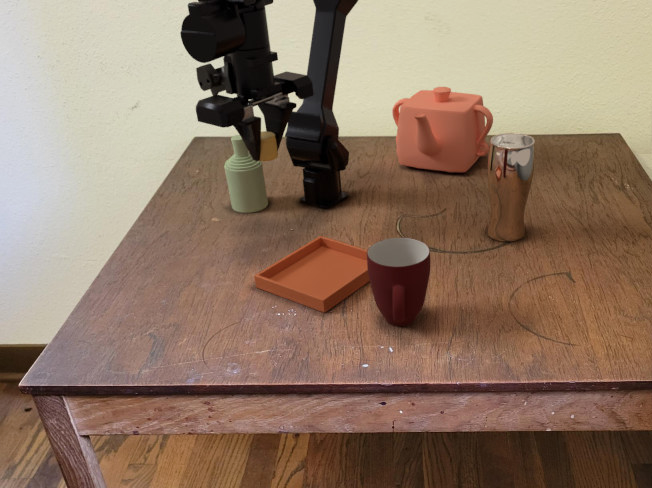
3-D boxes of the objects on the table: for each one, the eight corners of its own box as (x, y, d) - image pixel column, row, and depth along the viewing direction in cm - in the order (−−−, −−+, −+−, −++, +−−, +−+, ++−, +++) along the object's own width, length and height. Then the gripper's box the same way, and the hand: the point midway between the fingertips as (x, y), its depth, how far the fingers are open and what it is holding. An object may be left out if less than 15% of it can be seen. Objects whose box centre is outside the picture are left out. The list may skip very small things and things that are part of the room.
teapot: (368, 179, 134) (363, 103, 125) (407, 145, 148) (405, 74, 139) (469, 193, 128) (471, 114, 119) (500, 156, 142) (504, 82, 133)
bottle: (249, 195, 130) (238, 128, 122) (275, 202, 127) (265, 134, 120) (224, 208, 126) (211, 139, 118) (250, 216, 123) (238, 146, 116)
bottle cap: (278, 152, 111) (275, 130, 109) (278, 160, 108) (275, 138, 106) (254, 153, 110) (250, 132, 108) (253, 162, 108) (249, 140, 106)
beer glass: (533, 228, 116) (541, 135, 107) (520, 246, 111) (528, 151, 102) (492, 221, 119) (497, 130, 109) (478, 238, 114) (482, 145, 104)
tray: (321, 247, 113) (320, 235, 112) (388, 268, 107) (387, 256, 106) (256, 287, 104) (253, 275, 103) (324, 313, 98) (323, 300, 97)
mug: (437, 343, 91) (437, 274, 85) (375, 348, 91) (370, 279, 85) (425, 300, 100) (425, 234, 93) (368, 305, 99) (364, 239, 93)
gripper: (256, 26, 109) (270, 130, 119) (158, 52, 98) (183, 165, 107) (310, 34, 104) (320, 142, 114) (214, 63, 92) (234, 180, 102)
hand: (265, 156), depth 109 cm, fingers closed on bottle cap, 3 cm apart
